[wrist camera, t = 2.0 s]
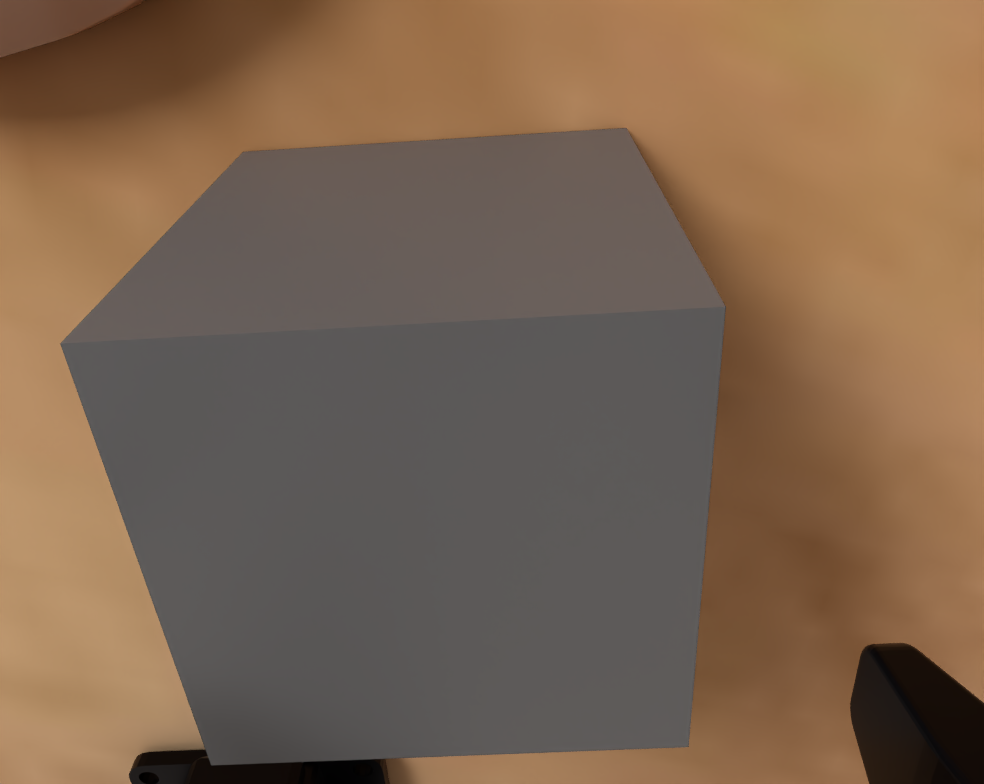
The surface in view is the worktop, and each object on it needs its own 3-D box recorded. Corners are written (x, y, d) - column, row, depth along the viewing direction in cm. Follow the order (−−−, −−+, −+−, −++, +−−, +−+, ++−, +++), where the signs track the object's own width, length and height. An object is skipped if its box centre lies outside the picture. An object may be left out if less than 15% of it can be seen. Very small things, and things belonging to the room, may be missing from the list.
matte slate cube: (620, 448, 17) (688, 746, 11) (308, 464, 18) (211, 764, 12) (626, 127, 14) (726, 306, 8) (242, 152, 14) (60, 344, 8)
